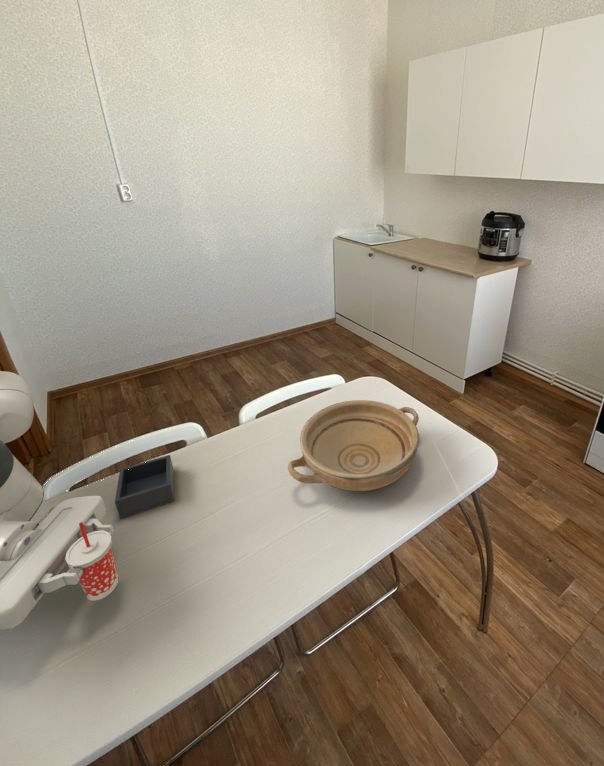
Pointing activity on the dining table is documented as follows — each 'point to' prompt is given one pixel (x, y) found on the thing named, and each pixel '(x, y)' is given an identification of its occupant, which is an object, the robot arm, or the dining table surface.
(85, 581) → the beverage cup
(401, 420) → the ceramic bowl
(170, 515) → the dining table surface
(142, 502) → the case
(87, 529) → the robot arm
